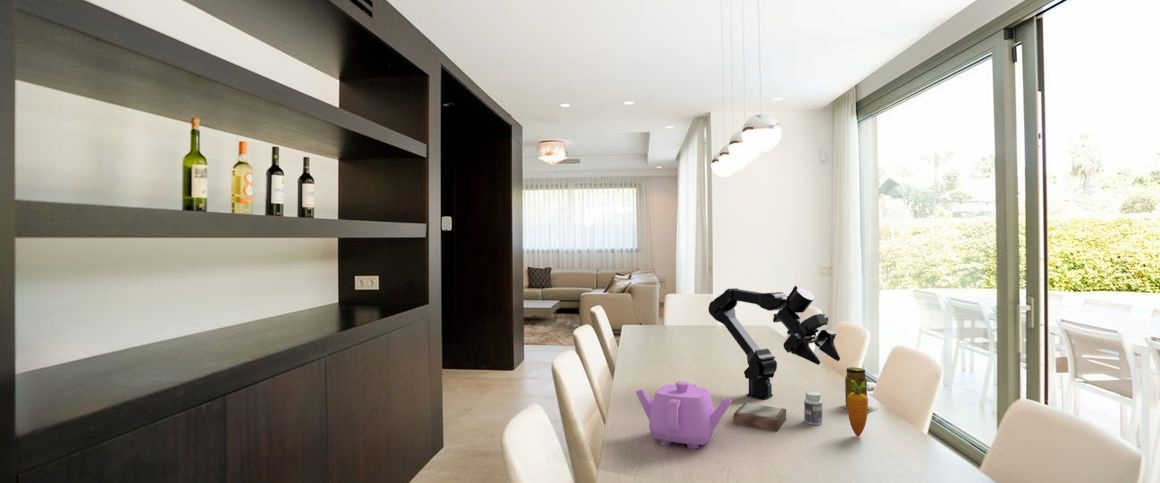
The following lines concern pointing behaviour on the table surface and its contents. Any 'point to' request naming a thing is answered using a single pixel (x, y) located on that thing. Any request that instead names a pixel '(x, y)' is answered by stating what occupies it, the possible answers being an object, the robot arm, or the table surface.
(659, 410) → the teapot
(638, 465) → the table surface
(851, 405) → the carrot
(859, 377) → the condiment
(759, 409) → the pedestal
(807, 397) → the pill bottle
